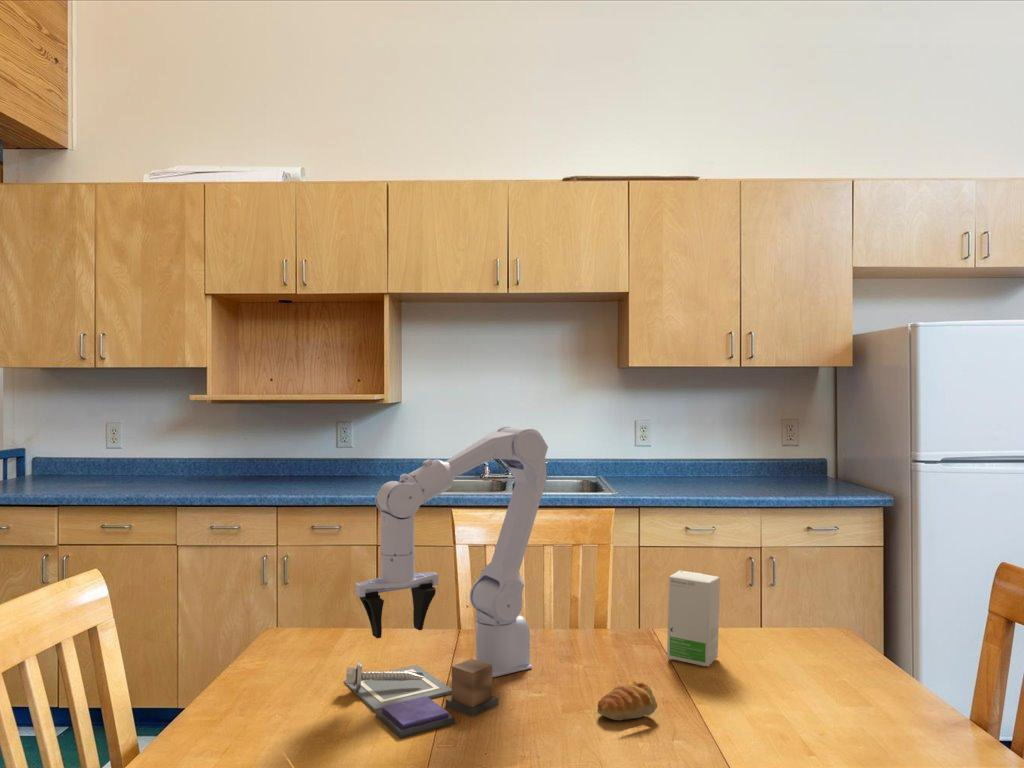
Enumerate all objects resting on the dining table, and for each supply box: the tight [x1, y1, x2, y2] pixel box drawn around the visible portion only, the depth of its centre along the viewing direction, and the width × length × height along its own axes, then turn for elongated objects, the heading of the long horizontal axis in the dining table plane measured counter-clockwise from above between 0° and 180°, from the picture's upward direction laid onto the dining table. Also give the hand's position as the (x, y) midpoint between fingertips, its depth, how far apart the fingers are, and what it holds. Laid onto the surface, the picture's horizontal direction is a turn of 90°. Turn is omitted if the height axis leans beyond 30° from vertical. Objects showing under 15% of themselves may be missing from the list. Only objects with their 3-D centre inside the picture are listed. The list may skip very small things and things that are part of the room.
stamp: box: [445, 658, 499, 718], centre depth 123 cm, size 6×6×6 cm
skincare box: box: [666, 569, 721, 667], centre depth 145 cm, size 8×7×16 cm
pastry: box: [596, 681, 658, 721], centre depth 120 cm, size 9×7×4 cm
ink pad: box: [375, 696, 456, 739], centre depth 118 cm, size 9×9×2 cm
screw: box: [345, 660, 424, 692], centre depth 129 cm, size 13×5×5 cm, turn 101°
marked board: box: [343, 664, 452, 713], centre depth 130 cm, size 14×14×1 cm
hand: (397, 632), depth 130 cm, fingers open, 7 cm apart
